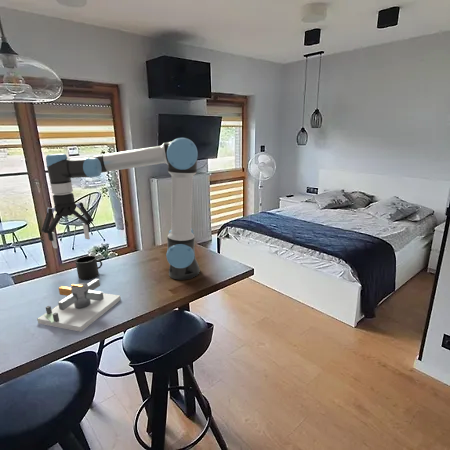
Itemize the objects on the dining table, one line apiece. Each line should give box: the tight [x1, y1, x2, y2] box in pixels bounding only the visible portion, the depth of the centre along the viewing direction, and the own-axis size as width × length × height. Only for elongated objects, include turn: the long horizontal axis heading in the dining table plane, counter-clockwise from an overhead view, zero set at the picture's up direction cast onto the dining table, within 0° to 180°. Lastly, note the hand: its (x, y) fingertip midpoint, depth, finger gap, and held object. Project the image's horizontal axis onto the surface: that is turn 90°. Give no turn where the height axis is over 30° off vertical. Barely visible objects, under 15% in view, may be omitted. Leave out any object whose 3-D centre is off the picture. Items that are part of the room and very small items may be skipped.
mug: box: [75, 255, 103, 281], centre depth 157 cm, size 9×12×9 cm
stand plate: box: [36, 292, 122, 333], centre depth 124 cm, size 20×24×5 cm
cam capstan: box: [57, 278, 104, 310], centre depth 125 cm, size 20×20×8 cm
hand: (72, 243), depth 133 cm, fingers open, 13 cm apart
